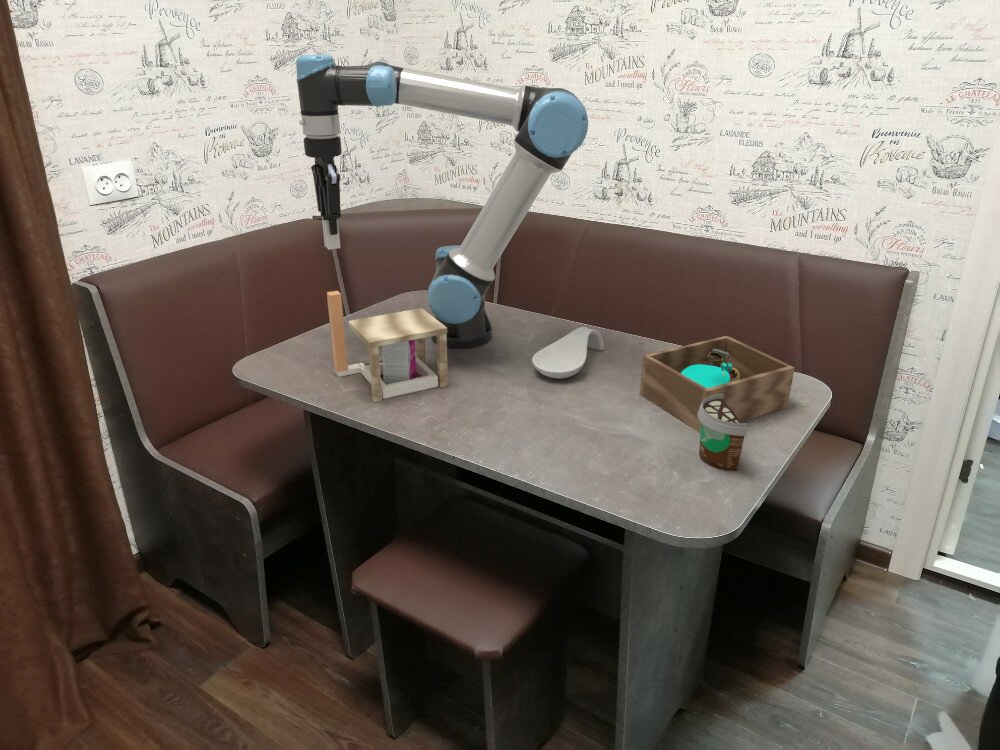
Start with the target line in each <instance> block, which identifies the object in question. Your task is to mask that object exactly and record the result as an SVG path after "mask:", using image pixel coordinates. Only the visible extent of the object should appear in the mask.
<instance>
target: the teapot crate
mask: <svg viewBox="0 0 1000 750" xmlns="http://www.w3.org/2000/svg"><path fill="white" fill-rule="evenodd" d="M713 349H718V350H721V351H724V352H727V353H729V359H726V355H724V354H721V355H722V356H723V357H724V360H723V361H726V362H728V363H730V364H732V368H735V369H737V370H738V372H739V373H740V380H736V381H733V382H729V383H725V384H722V385H718V386H714V387H711V388H706V387H704V386H702V385H700V384H698V383H697V382H695V381H693V380H691V379H690V378H688V377H686V376H684V375H683V374H681V372H682V371H683V370H684V369H686V368H687V367H689V366H692V365H698V364H701V365H710V364H711V361H710V360H709V359H708V358H707V355H708V353H709V352H712V350H713ZM719 354H720V353H719ZM710 356H712V355H710ZM714 359H716V360H721V359H720V358H719V357H717V356H715V357H714ZM720 365H721V363H720V364H718V363H714V364H713V366H716V367H719V368H720ZM795 368H796V367H795V366H792V365H790V364H788V363H786V362H784V361H782V360H780V359H777V358H776V357H773V356H771V355H769V354H767V353H765V352H762V351H760V350H759V349H756V348H754V347H752V346H750V345H747V344H745V343H743V342H741V341H739V340H737V339H735V338H733V337H731V336H729V335H723V336H719V337H716V338H711V339H707V340H702V341H699V342H695V343H691V344H687V345H682V346H677V347H673V348H669V349H664V350H661V351H657V352H652V353H647V354H644V355H642V363H641V376H640V377H641V378H640V386H639V387H640V389H639V396H641V397H643V398H644V399H646V400H648V401H649V402H651V403H652V404H654V405H656V406H657V407H659V408H661V410H663V411H665V412H667V413H668V414H670V415H672V416H673V417H675V418H676V419H677V420H679V421H680V422H682V423H684V424H685V425H687V426H689V427H690V428H692V429H693V430H695V431H696V432H698V433H699V434H700V427H701V421H700V420H699V418H698V415H697V414H698V411H699V408H700V405H701V404H702V403H703V401H704V400H705V399H706V398H708V397H710V396H713V395H718V394H723V400H724V402H725V403H726V404H727V405H728V406H729V407H730V408H731V409H732V410H733V411H734V413H735V414H736V416H737V418H738V419H739V421H740V422H741V423H742V422H744V421H748V420H750V419H753V418H757V417H761V416H764V415H766V414H770V413H773V412H777V411H779V410H783V409H787V408H788V406H789V401H790V400H789V399H790V394H791V390H792V385H793V384H792V383H793V381H794V380H793V379H794V374H795Z"/></svg>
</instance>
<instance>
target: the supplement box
mask: <svg viewBox="0 0 1000 750" xmlns="http://www.w3.org/2000/svg"><path fill="white" fill-rule="evenodd" d="M381 349H382V361H383V374H384V375H383V382H384V383H385V384H386V385H387V384H392V383H396V382H401V381H406V380H410V379H415V378H417V372H416V361H415V356H416V339H415V340H409V341H404V342H399V343H394V344H389V345H384V346H381Z"/></svg>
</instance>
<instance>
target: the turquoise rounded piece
mask: <svg viewBox="0 0 1000 750" xmlns="http://www.w3.org/2000/svg"><path fill="white" fill-rule="evenodd" d="M719 353H720V354H719ZM721 354H724V355H726V359H729V353H727V352H724V351H721V350H718V349H713V350H712V352H709V353H708V355H707V358H708V359H709V360H710V361H711V364H710V365H701V364H698V365H692V366H689V367H687V368H686V369H684V370H683V371H682V372H681V374H683V375H684V376H686V377H688V378H690V379H691V380H693V381H695V382H697V383H698V384H700V385H702V386H704V387H706V388H711V387H714V386H718V385H722V384H725V383H729V382H733V381H736V380H740V373H739V372H738V370H737V369H735V368H732V364H730V363H728V362H726V361H723V360H724V357H723V356H722V355H721ZM710 355H712V356H710ZM715 356H717V357H719V358H720V359H721V360H716V359H714V357H715ZM714 363H718V364H720V363H721V365H720V368H719V367H716V366H713V364H714Z"/></svg>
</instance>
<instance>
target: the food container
mask: <svg viewBox="0 0 1000 750" xmlns="http://www.w3.org/2000/svg"><path fill="white" fill-rule="evenodd" d="M697 415H698V418H699V420H700V421H701V427H700V433H699V452H698V453H699V454H698V455H699V459H701V461H702V462H703V463H705V464H706V465H708V466H710V467H712V468H714V469H717V470H722V471H726V472H727V471H728V472H737V471H738V467H739V464H740V460H741V459H740V458H741V454H742V449H743V444H744V441H745V437H747V436H748V435H747V434H748V425H747V424H748V423H742V421H741V422H740V421H739V419H738V418H737V416H736V414H735V413H734V411H733V410H732V409H731V408H730V407H729V406H728V405H727V404H726V403H725V402H724V400H723V394H718V395H713V396H710V397H708V398H706V399H705V400H704V401H703V403H702V404H701V405H700V408H699V411H698V414H697Z"/></svg>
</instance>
